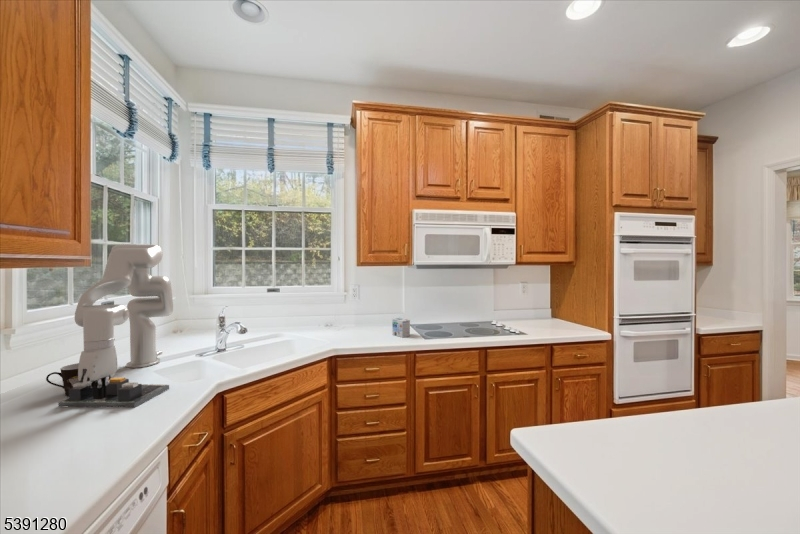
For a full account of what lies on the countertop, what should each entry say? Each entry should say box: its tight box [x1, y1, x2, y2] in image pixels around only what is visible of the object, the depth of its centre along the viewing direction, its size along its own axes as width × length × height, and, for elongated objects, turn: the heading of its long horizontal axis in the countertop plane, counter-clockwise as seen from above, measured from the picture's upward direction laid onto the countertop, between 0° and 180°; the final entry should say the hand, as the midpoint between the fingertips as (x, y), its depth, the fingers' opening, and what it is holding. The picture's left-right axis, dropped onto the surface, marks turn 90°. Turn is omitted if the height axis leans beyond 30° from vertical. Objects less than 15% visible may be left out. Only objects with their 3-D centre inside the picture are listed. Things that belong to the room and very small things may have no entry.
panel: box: [57, 382, 170, 408], centre depth 118 cm, size 16×26×7 cm, turn 89°
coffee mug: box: [45, 362, 83, 397], centre depth 121 cm, size 12×9×10 cm
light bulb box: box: [391, 317, 411, 339], centre depth 215 cm, size 11×7×11 cm, turn 41°
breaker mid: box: [106, 377, 130, 395], centre depth 118 cm, size 5×4×5 cm
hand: (99, 398), depth 111 cm, fingers closed
